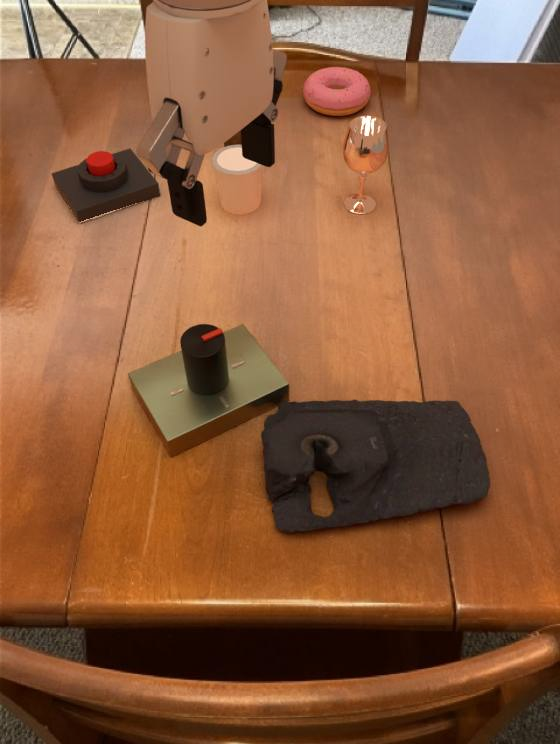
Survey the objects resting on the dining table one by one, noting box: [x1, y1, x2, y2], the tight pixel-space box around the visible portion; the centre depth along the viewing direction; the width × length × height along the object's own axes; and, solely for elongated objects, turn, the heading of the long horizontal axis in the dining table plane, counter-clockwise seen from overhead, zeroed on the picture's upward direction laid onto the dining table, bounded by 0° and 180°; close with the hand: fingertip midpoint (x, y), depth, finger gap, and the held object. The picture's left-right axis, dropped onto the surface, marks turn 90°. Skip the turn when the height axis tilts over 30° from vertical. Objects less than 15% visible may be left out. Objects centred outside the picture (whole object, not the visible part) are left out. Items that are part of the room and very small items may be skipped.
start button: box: [85, 150, 115, 176], centre depth 93 cm, size 4×4×2 cm
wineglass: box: [342, 115, 389, 215], centre depth 90 cm, size 6×6×12 cm
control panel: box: [127, 323, 290, 458], centre depth 72 cm, size 14×10×3 cm
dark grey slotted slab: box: [260, 399, 491, 534], centre depth 66 cm, size 15×22×5 cm
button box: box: [51, 148, 161, 223], centre depth 95 cm, size 12×10×4 cm
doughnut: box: [301, 66, 372, 117], centre depth 110 cm, size 11×11×4 cm
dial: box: [179, 323, 229, 395], centre depth 69 cm, size 4×4×6 cm
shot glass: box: [211, 145, 264, 216], centre depth 92 cm, size 7×7×7 cm
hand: (225, 188), depth 58 cm, fingers open, 9 cm apart
